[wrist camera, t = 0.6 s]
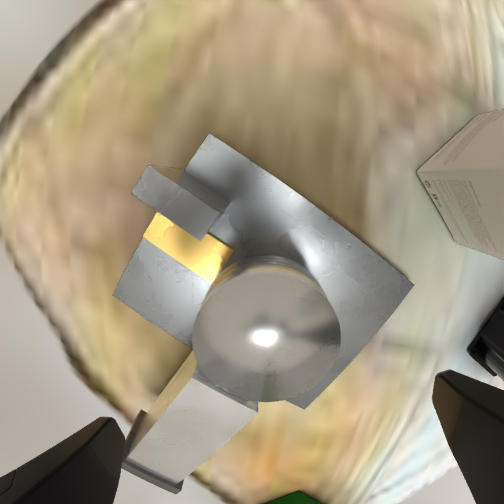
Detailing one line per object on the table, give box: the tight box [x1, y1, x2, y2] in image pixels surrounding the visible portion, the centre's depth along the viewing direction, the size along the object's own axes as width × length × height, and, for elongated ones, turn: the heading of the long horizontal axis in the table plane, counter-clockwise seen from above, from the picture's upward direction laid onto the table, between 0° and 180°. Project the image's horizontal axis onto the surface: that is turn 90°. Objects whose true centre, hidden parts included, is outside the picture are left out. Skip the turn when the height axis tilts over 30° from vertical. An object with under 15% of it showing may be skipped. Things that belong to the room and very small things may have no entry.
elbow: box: [121, 255, 341, 494], centre depth 16 cm, size 16×6×5 cm, turn 145°
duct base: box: [113, 134, 414, 409], centre depth 17 cm, size 16×12×6 cm
